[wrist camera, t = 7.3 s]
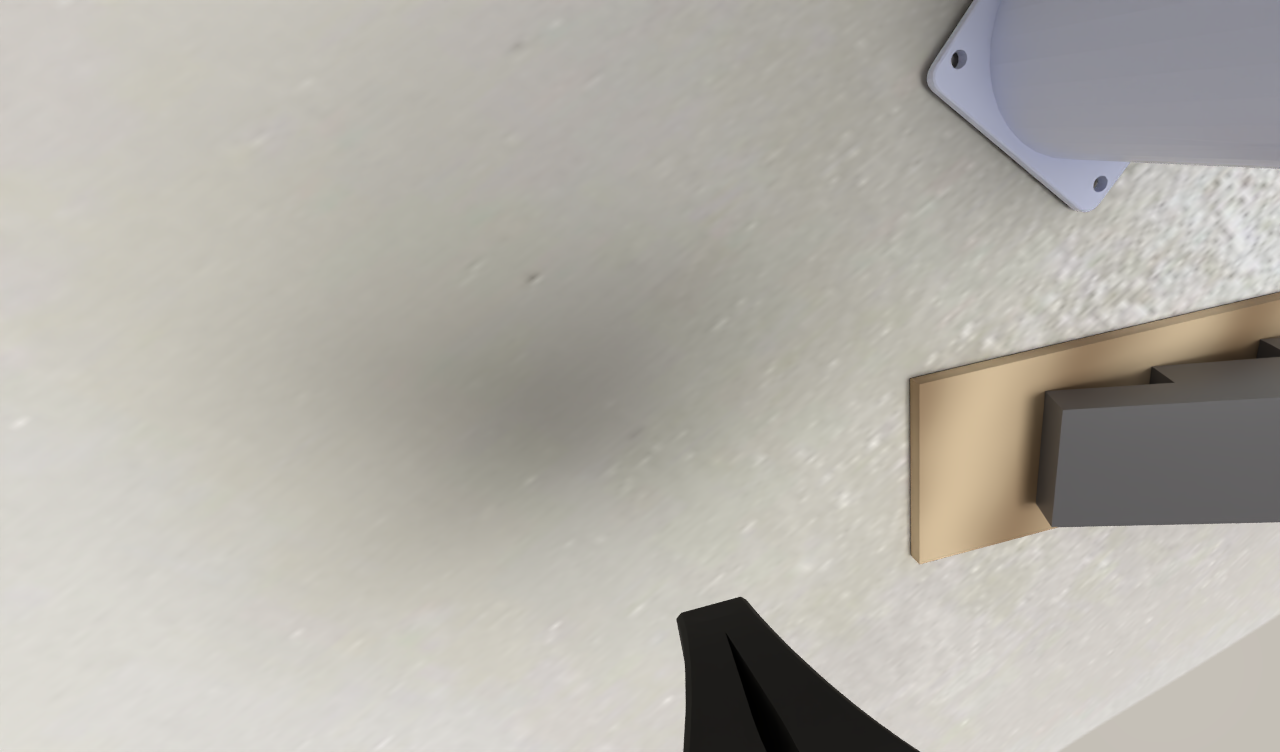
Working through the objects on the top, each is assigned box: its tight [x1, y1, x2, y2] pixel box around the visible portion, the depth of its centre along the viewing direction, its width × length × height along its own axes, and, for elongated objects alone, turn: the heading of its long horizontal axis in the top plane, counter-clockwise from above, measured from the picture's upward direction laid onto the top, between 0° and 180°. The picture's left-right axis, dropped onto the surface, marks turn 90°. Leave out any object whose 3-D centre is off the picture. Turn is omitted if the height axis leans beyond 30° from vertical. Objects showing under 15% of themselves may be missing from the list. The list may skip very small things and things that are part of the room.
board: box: [910, 292, 1280, 564], centre depth 26 cm, size 26×8×1 cm, turn 99°
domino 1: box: [1149, 357, 1280, 384], centre depth 24 cm, size 2×5×8 cm
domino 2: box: [1036, 376, 1280, 527], centre depth 24 cm, size 2×5×8 cm
